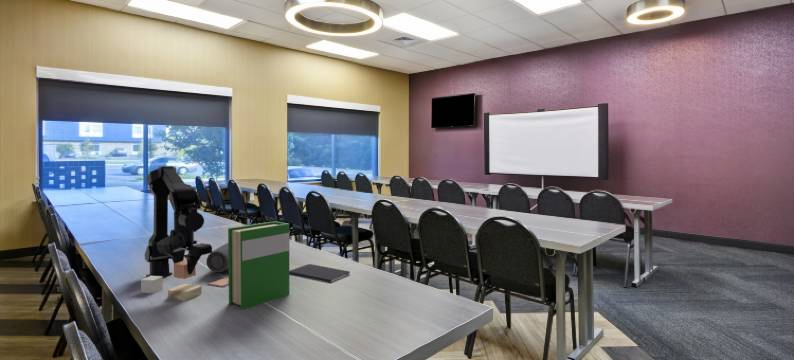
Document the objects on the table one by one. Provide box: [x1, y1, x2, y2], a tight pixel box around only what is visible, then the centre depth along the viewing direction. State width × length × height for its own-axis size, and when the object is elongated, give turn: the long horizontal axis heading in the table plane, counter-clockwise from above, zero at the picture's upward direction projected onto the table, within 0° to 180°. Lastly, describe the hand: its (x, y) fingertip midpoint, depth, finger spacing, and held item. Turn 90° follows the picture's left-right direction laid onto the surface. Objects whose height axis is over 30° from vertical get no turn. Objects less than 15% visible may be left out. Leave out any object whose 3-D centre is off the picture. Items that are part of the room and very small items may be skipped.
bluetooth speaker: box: [205, 242, 229, 273], centre depth 172 cm, size 23×9×10 cm, turn 179°
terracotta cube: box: [173, 259, 197, 280], centre depth 137 cm, size 4×4×4 cm
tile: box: [207, 278, 229, 288], centre depth 151 cm, size 7×7×1 cm
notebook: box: [289, 263, 351, 283], centre depth 165 cm, size 13×2×21 cm
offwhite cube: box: [140, 276, 164, 294], centre depth 142 cm, size 4×4×4 cm
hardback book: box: [227, 221, 290, 311], centre depth 135 cm, size 18×7×24 cm, turn 143°
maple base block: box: [167, 283, 203, 302], centre depth 138 cm, size 7×7×3 cm
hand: (184, 273), depth 137 cm, fingers closed on terracotta cube, 4 cm apart
